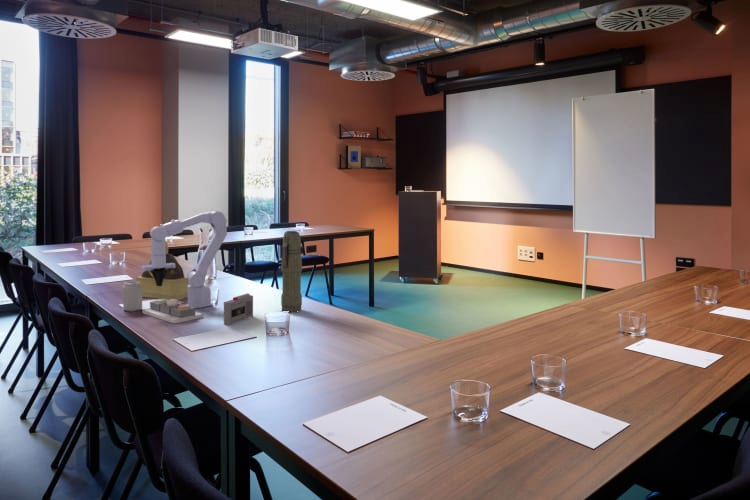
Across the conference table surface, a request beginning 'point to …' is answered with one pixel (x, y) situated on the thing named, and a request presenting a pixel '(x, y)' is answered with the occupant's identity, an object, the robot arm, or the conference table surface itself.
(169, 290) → the decorative clock
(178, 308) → the terracotta button
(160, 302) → the sage button
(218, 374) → the conference table surface
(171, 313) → the panel
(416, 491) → the conference table surface
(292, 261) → the thermos
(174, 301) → the cream button
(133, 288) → the can
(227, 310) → the cassette player
